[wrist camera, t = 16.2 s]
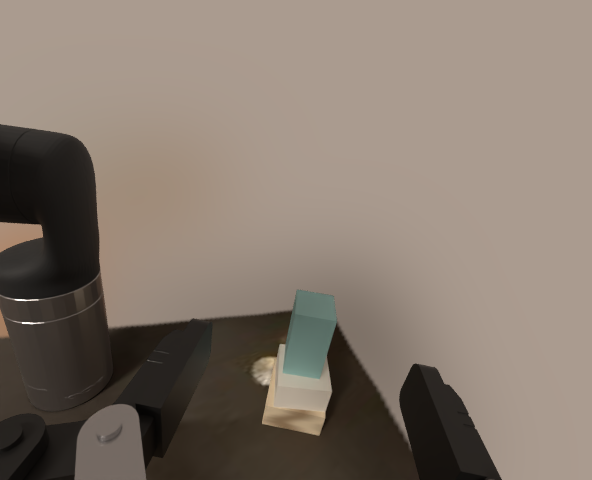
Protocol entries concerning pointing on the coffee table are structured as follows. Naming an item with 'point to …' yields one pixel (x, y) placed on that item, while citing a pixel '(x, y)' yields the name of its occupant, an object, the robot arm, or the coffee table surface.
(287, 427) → the tower base block
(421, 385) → the robot arm
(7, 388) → the coffee table surface
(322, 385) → the tower top block
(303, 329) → the teal block
